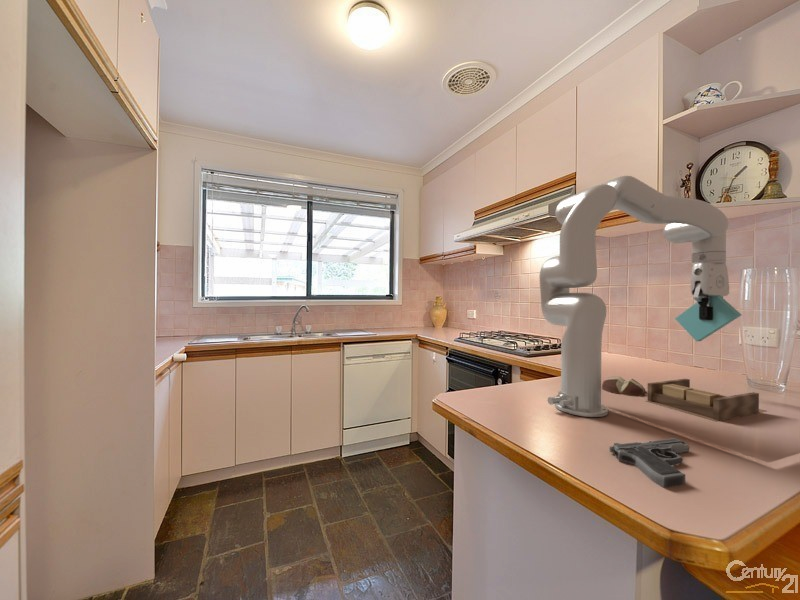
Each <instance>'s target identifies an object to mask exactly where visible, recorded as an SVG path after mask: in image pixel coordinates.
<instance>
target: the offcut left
mask: <svg viewBox="0 0 800 600" xmlns="http://www.w3.org/2000/svg"><path fill="white" fill-rule="evenodd" d="M693 389H694V388H693V387H690V388H688V387H684V386H679V385H675V384H667V385H663V395H667V396H671V397H675V398H679V399H683V400H686V390H693Z"/></svg>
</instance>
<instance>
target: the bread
mask: <svg viewBox="0 0 800 600" xmlns="http://www.w3.org/2000/svg"><path fill="white" fill-rule="evenodd" d="M601 390H602V391H605V392H608V393H611V394H616V395H617V394H618V395H623V396H629V397H643V396H644V395H646V393H647V392H646V391H647V390H646V388H645V387H644V386H643V385H642V384H641V383H640V382H638V381H636V380H635V379H634V378H631V379H627V380H625V379H624V378H623V377H621V376H610V377H608V378H606V379H605V380H603V382H602V383H601Z"/></svg>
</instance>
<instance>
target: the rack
mask: <svg viewBox="0 0 800 600" xmlns="http://www.w3.org/2000/svg"><path fill="white" fill-rule="evenodd" d="M690 383H691V379H690V378H689V379H688V378H681V379H680V378H679V379H673V380H672V379H671V380H663V381H654V382H648V383H647V399H646V400H645V402H647V403H650V404H654V405H656V406H660V407H664V408H667V409H670V410H674V411H678V412H681V413H683V414H684V413H685V414H688V415H691V416H695V417H699V418H701V419H704V420H705V419H706V420H709V421H712V422H716V423H717V422H721V421H725V420H726V421H727V420H731V419H735V418H740V417H746V416H751V415H755V414H759V413H764V412H767V410H764V409H761V408H759V407H760V393H759V392H756V391H755V392H754V391H752V392H747V393H741V394H735V395H734V394H733V395H728V396H727V395H723V394H720V398H715V399H713V407H710V406H706V405H702V404H698V403H694V402H690V401H687V400H683V399H679V398H675V397H671V396H667V395H663V385H667V384H675V385H679V386H684V387H688V388H691V387H690V386H691V384H690Z"/></svg>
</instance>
